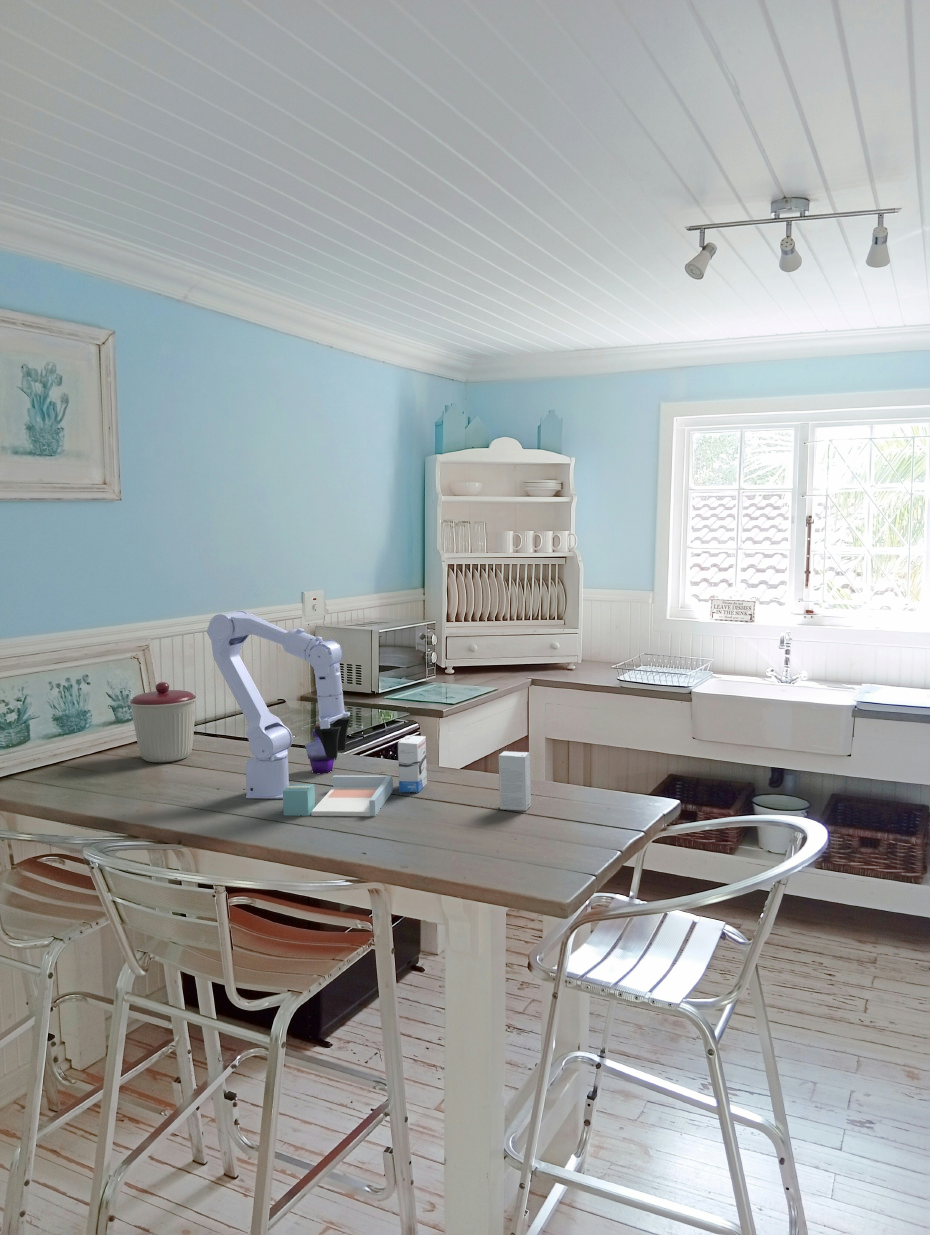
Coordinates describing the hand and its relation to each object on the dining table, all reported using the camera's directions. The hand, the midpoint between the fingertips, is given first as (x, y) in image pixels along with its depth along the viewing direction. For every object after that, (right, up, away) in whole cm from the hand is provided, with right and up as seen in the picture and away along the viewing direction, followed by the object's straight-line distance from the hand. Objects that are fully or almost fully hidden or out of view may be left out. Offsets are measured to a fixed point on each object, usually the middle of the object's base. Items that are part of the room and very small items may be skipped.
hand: (336, 754), depth 219 cm
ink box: (+17, -10, +9) cm, 21 cm away
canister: (-52, -8, +45) cm, 70 cm away
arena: (+4, -11, -1) cm, 11 cm away
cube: (-7, -12, -7) cm, 15 cm away
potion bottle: (-7, -8, +27) cm, 29 cm away
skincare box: (+40, -11, -9) cm, 42 cm away
